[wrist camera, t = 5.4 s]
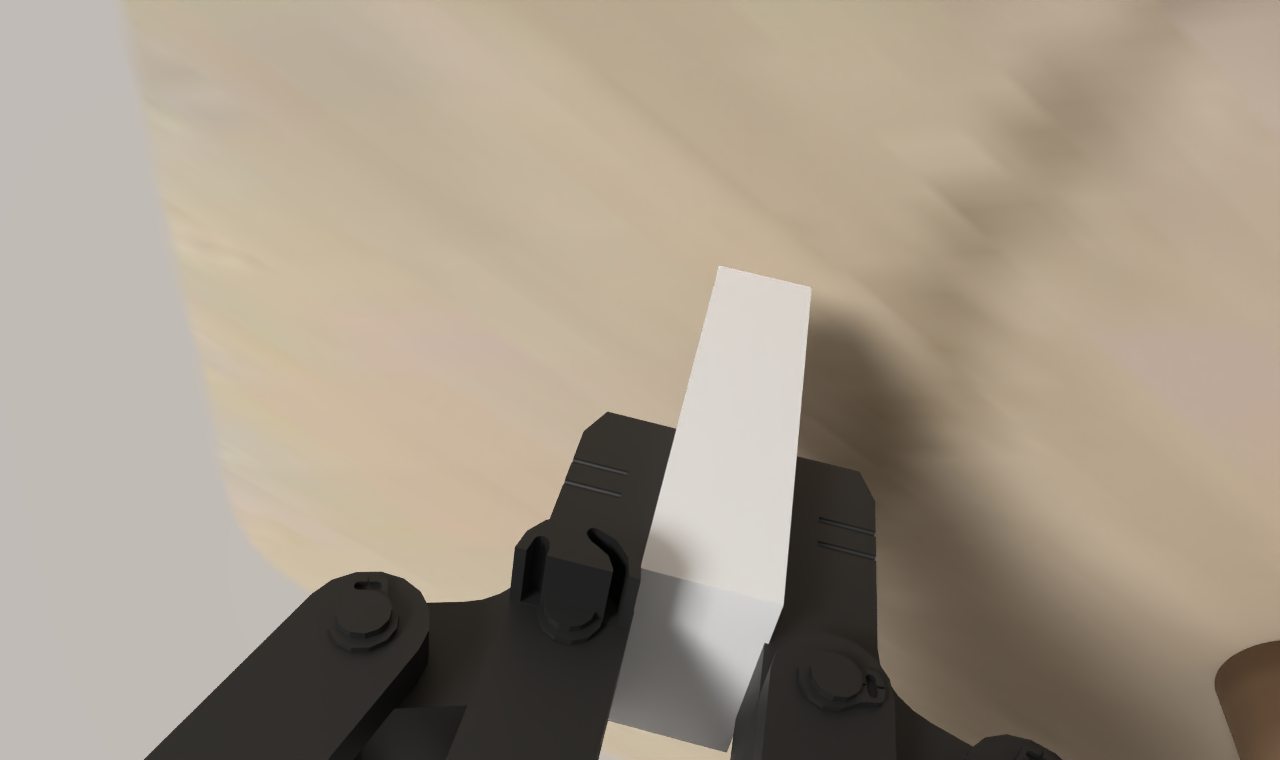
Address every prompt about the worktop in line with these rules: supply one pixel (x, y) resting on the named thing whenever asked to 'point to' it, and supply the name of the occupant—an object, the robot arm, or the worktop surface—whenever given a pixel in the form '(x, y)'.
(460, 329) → the worktop surface
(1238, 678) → the post
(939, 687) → the worktop surface
